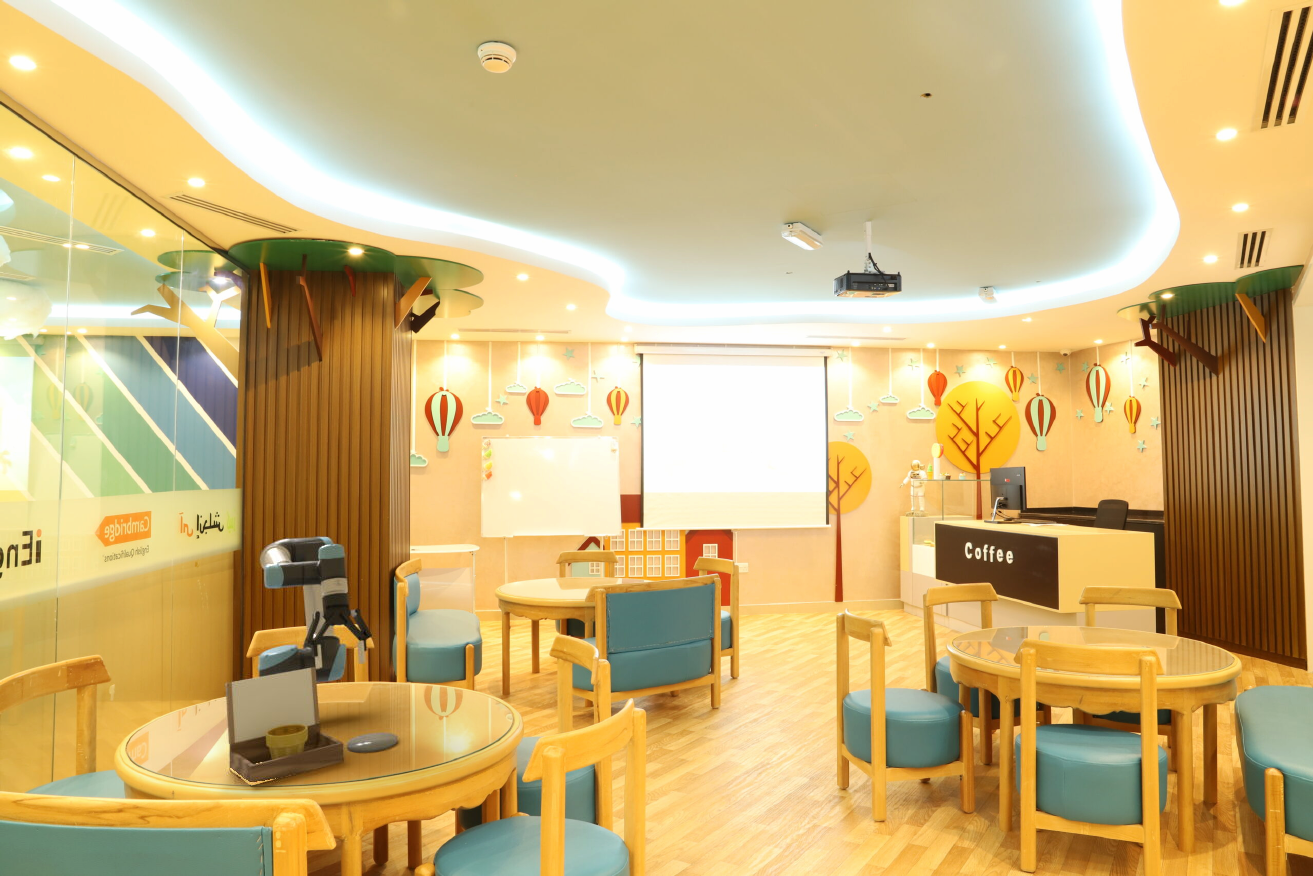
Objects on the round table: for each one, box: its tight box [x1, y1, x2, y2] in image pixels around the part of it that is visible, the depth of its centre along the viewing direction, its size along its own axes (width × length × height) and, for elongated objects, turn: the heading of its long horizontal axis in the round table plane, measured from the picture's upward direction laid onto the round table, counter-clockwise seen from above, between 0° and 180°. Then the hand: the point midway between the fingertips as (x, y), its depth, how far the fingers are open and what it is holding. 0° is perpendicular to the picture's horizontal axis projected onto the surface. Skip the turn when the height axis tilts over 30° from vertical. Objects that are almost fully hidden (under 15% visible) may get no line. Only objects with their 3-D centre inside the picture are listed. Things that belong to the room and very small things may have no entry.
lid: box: [225, 667, 321, 745], centre depth 229 cm, size 4×24×16 cm, turn 134°
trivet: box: [346, 732, 398, 753], centre depth 238 cm, size 14×14×1 cm
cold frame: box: [229, 723, 344, 782], centre depth 222 cm, size 17×24×7 cm
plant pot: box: [266, 724, 308, 760], centre depth 222 cm, size 10×10×10 cm
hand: (341, 665), depth 242 cm, fingers open, 12 cm apart
